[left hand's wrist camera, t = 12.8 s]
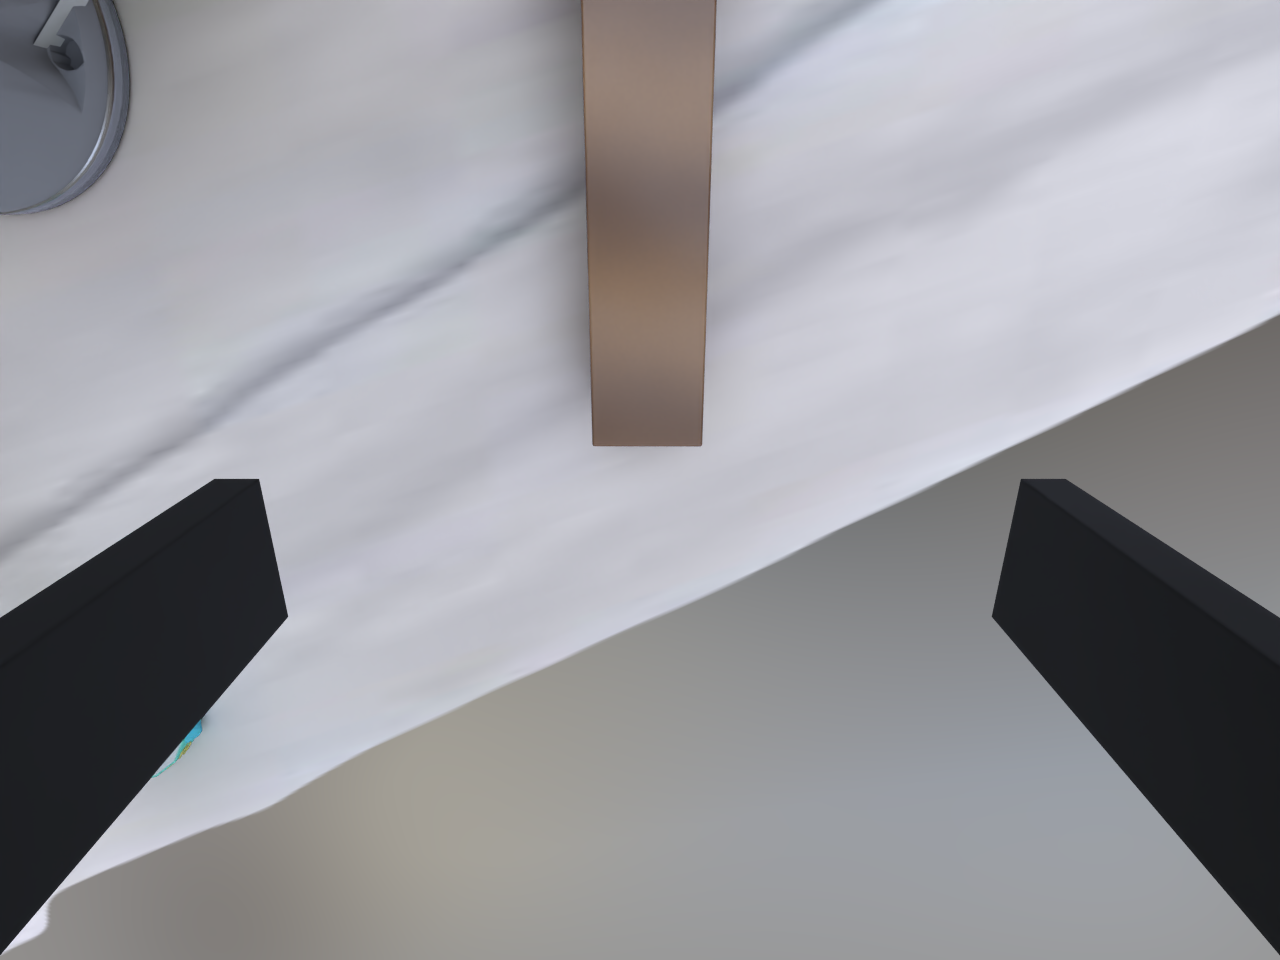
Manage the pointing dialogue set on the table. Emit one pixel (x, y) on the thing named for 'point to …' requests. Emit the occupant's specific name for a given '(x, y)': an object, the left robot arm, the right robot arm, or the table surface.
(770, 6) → the table surface
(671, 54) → the post
